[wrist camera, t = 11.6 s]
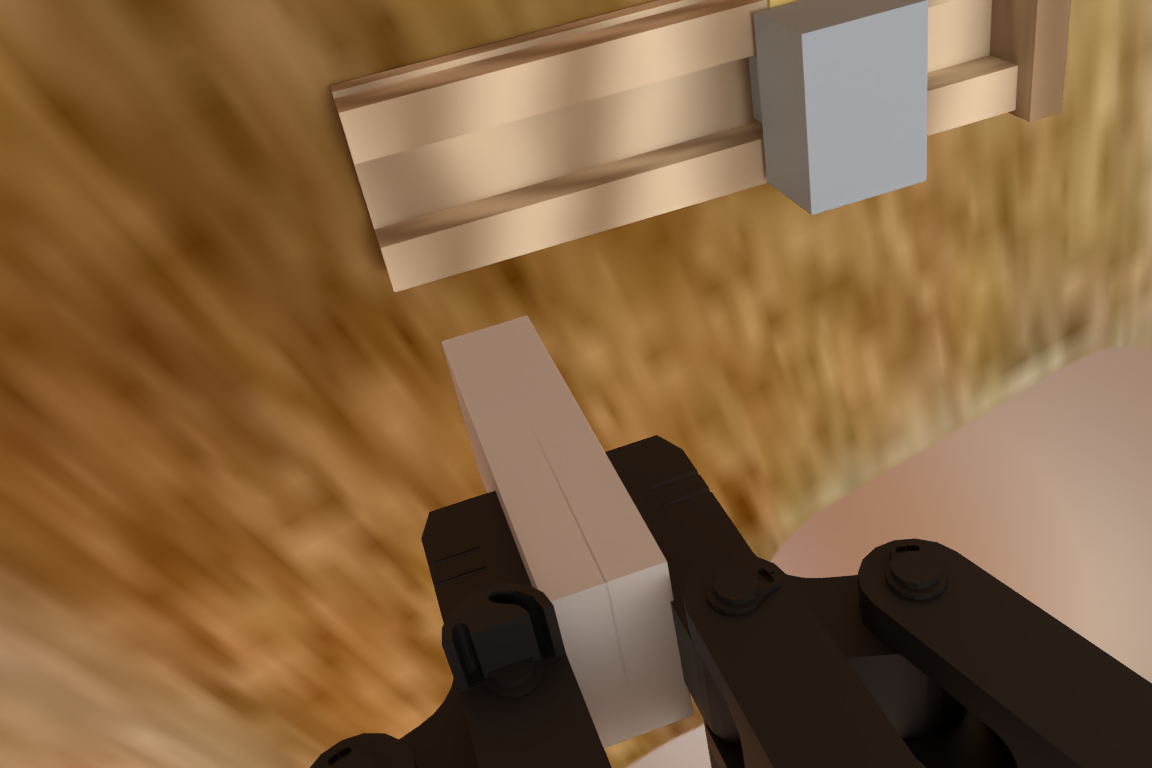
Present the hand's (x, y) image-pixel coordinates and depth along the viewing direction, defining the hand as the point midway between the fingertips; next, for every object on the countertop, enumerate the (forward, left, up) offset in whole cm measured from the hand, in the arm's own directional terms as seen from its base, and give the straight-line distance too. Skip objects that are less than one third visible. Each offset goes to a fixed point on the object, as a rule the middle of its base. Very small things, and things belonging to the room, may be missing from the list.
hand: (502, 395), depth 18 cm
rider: (+18, -5, -25) cm, 31 cm away
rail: (+14, -5, -26) cm, 30 cm away
